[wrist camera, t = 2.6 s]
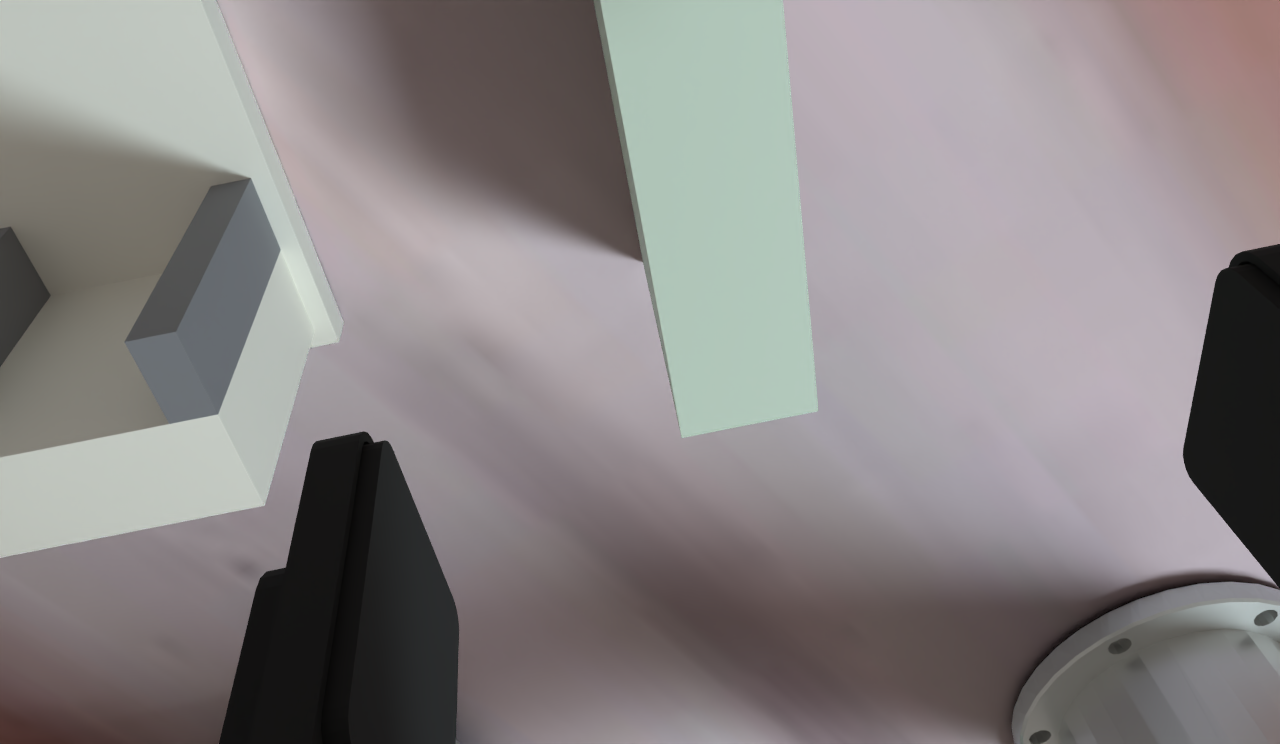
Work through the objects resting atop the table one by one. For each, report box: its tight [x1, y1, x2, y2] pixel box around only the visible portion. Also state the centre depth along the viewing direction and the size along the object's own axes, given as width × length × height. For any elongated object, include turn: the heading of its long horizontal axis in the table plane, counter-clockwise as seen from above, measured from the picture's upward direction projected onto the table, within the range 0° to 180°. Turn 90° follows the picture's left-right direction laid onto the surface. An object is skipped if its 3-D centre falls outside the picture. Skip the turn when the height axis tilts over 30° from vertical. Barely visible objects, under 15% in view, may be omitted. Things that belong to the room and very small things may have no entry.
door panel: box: [593, 0, 818, 438], centre depth 22 cm, size 3×12×8 cm, turn 10°
